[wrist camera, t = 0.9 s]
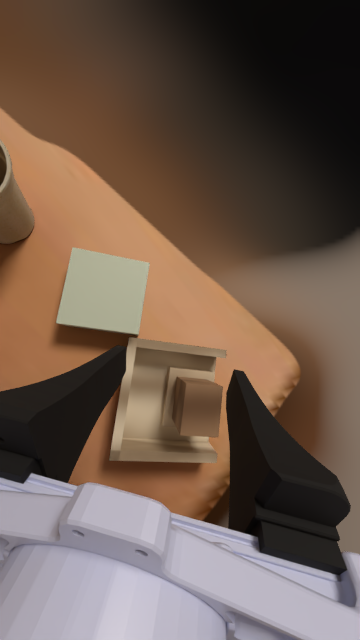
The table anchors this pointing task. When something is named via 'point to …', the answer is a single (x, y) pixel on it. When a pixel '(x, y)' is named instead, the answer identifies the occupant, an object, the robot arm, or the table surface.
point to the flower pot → (12, 204)
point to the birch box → (159, 402)
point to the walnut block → (197, 407)
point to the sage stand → (103, 292)
